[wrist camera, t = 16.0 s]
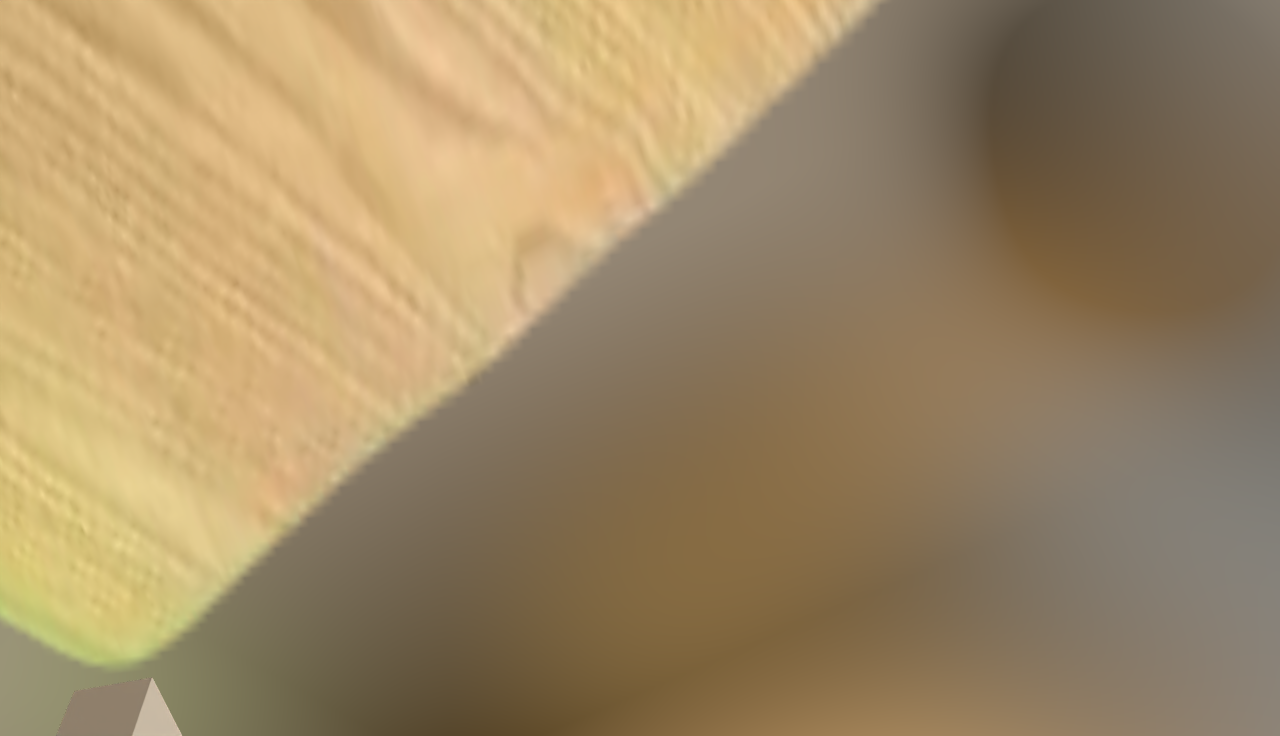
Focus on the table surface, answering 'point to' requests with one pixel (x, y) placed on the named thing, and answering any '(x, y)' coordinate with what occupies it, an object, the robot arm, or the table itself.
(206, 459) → the table surface
